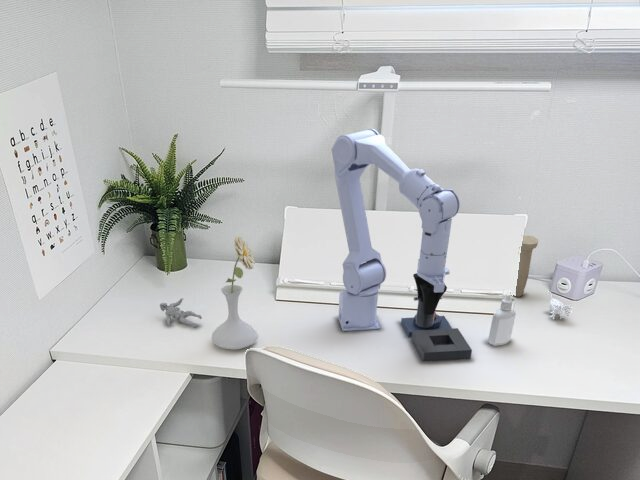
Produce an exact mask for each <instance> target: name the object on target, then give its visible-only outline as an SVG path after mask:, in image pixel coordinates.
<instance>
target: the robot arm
mask: <svg viewBox="0 0 640 480" xmlns="http://www.w3.org/2000/svg"><path fill="white" fill-rule="evenodd" d="M331 155H332V160H333V166H334V179H335V185H336V189H337V195H338V199H339V200H338V201H339V205H340V211H341V217H342V222H343V227H344V232H345V237H346V242H347V248H348V254H347V255H346V257H345V259H344V260H343V262H342V269H343V273H342V284H343V286H344V288H345V290H344V289H343V290H340V291H339V296H338V316H337V319H338V323H339V326H340V328H341V330H342V331H343V332H351V331H352V332H353V331H366V330H367V331H369V330H381V326H380V324H379V322H378V319H377V312H378V300H379V299H378V298H379V290H380V289H381V285H382V284H383V283H384V282H385V281H386V278H387V269H386V266H385V264H384V263H383V260H382V256H381V253H380V252H379V251H378V250H376V249H374V248H373V246H372V241H371V235H370V228H369V224H368V218H367V211H366V207H365V202H364V201H365V200H364V196H363V190H362V183H361V177H362V175H363V173H364V172H365V170H366V169H367V168H368V167H369V166H370V165H374V166H376V168H378V169H380V170H381V171H382V172H384V174H386V175H387V176H389V177H390V178H391V179H392V180H394V181H395V182H396V183H398V190H399V193H400V194H402V195H403V196H404V197H405V198H406V199H407V200H408V201H409V202H410V203H411V204H413V205H414V206H415V208H417V209H418V214H419V217H420V220H421V229H422V232H421V233H422V234H421V243H420V250H419V251H420V252H419V258H418V259H417V269H416V273H414V274H413V275H412V277H413V279H414V282H415V285H416V292H417V297H421V296H423V310H424V314H425V315H433V314H434V312H435V313H436V309H437V307H438V305H439V302H440V300H441V299H440V298H441V297H442V298H443V295H444V294H445V293H446V292H447V289H448V287H447V285H446V283H445V277H446V275H450V273H451V272H450V269H449V268H447V267H446V263H447V257H448V250H449V242H450V236H451V228H452V221H453V218H454V217H455V216H457V214H458V213H459V211H460V206H461V205H460V199H459V197H458V195H457V193H456V192H455V191H454V189H451V188H443V187H441V186H440V185H439V184H437V183H435V182H434V181H433V180H432V179H431V178H430V177H428V176H427V175H426V171H425V170H424V169H423V168H420V169H419V168H412V169H410V167H408V166H407V164H406V163H404V161H403V160H402V159H401V158H400V157H399V156H398V155H397V154H396V153H395V152H394V151H393V150H392V149H391V148H390V147H389V146H388V145H387V144H386V139H385V136H383V135H382V134H380V132H378V131H377V130H376V129H374V128H366V129H365V130H361V131H357V132H352V133H348V134H341V135H339V136H338V137H337V138H336V140H335V141H334V143H333V145H332V147H331Z"/></svg>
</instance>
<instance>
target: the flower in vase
mask: <svg viewBox="0 0 640 480" xmlns="http://www.w3.org/2000/svg"><path fill="white" fill-rule="evenodd" d="M234 249H235V252H236V255H237V259H236V261H235V264H234V266H233V272H232V278H229V277H228V278H227V280H225V283H231V284H227V285H224V286H222V287H221V288H220V292H221V293H222V294H223V295H224V297H225V299H226V302H227V309H228V316H227V319H226V320H225V321H224V322H222V323H221V324H219V326H217V327H216V328H215V329H214V330H213V332H212V333H211V334H212V335H211V337H210V338H211V341H212V343H213V344H214V345H215V346H216V347H218V348H221V349H226V350H240V349H242V350H243V349H246V348H248V347H251V346H253V345H254V344H255V343H256V342H257V340H258V339H259V333H258V332H257V330H256V329H255V327H253V326H252V325H251V324H249V323H248V322H246V321H245V320H243V319H241V318H240V316H239V306H238V305H239V297H240V295H241V293H242V291H243V287H242V286H240V285H237V284H234V282H236V281H237V279H242V278H243V276H244V271H243V269H242V268H241V267H239V266H237V265H238V263H239V262H240V263H241V264H242V266H244V268H245V269H246V270H253V269H255V267H254V265H256V261H255V258H254V256H253V255H254V252H253V250H251V249H250V246H249V245H248V242H247V241H246V240H243V238H242V236H240V235H238V236H234ZM253 264H254V265H253ZM235 277H237V279H235Z"/></svg>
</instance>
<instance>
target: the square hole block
mask: <svg viewBox="0 0 640 480" xmlns="http://www.w3.org/2000/svg"><path fill="white" fill-rule="evenodd" d="M411 342H412V343H413V346H414V347H415V349H416V351H417V353H418V355H419V357H420V359H421V362H422V363H428V362H429V363H431V362H448V361H462V360H471V359H472V358H471V357H472V352H473V349H472V348H471V346H470V345H469V343H468V341H467V340H466V339H465V337H464V336H463V334H462V332H461V331H460V330H459V328H458V327H457V328H455V327H454V328H453V327H452V329H436V330H418V331H412V337H411Z"/></svg>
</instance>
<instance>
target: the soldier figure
mask: <svg viewBox="0 0 640 480" xmlns="http://www.w3.org/2000/svg"><path fill="white" fill-rule="evenodd" d="M183 301H184V298H183V297H182V298H180V299H179V300H178V301H176V302H173V303H170V304H169V305H168V303H167V302H161V303H159V308H160V310H161V311H162V312H164V311H165V313H164V314H165V317H166V321H167V322H166V323H167V325H168V326H170V324H171V321H172V319H175V320H177V321H178V322H181V323H182V324H184V325H185V326H193V327H194V328H197V327H198V323H195V322H192V321H190V320H188V319H187V318H189V317H195V318H198V320H199V319H200V320H202V319H203V317H202V315H201V314H198V313H196V312H194V311H193V310H186V311H184V310H181V308H180V307H179V306H180V305H181V304H182V303H183ZM171 318H172V319H171Z"/></svg>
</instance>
